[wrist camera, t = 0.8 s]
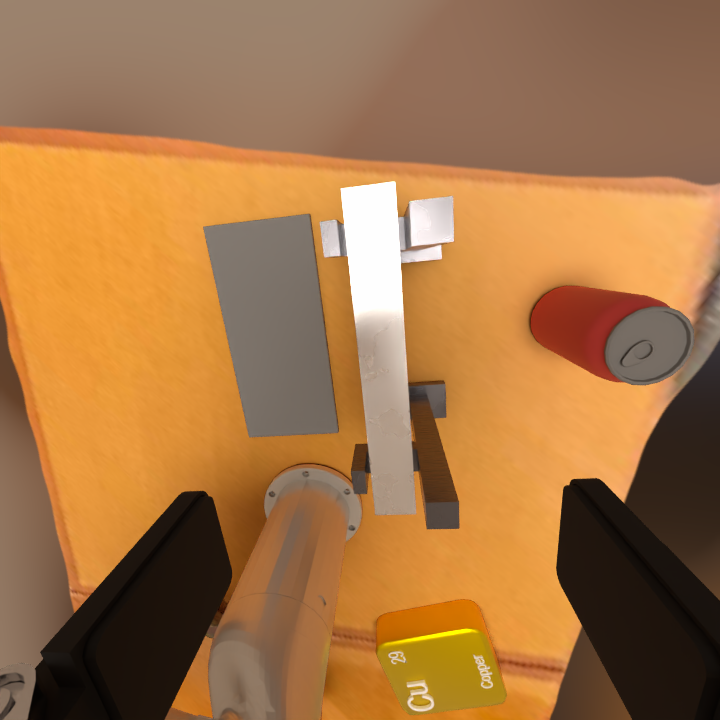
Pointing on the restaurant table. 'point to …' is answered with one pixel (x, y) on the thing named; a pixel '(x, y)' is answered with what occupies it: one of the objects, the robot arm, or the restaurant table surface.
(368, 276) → the rail
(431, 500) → the hook stand
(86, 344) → the restaurant table surface
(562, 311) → the beer can
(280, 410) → the mat
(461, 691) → the element tile
